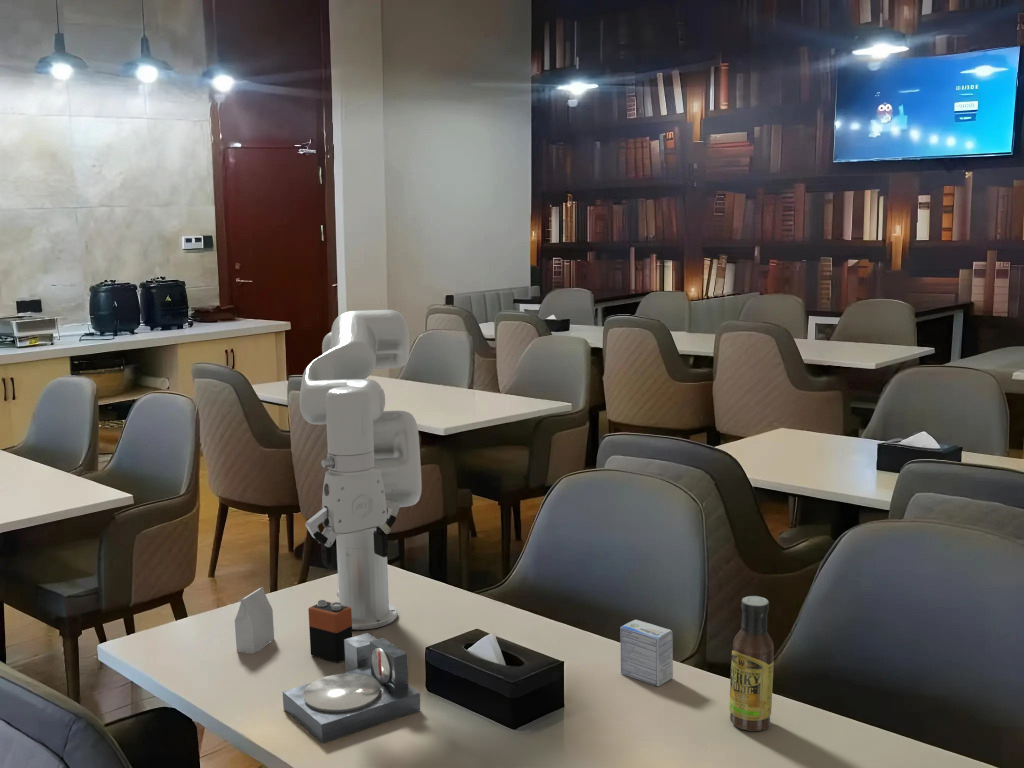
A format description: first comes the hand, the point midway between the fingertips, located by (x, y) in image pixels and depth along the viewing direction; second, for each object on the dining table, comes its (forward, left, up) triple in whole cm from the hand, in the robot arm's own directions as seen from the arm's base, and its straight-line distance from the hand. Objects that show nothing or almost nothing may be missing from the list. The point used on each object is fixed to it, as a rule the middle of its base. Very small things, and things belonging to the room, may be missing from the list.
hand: (355, 561), depth 178 cm
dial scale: (+10, -7, -20) cm, 24 cm away
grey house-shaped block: (-24, -9, -21) cm, 33 cm away
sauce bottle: (+52, +39, -21) cm, 68 cm away
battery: (-11, 0, -21) cm, 23 cm away
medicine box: (+30, +38, -21) cm, 53 cm away
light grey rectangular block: (-1, +1, -21) cm, 21 cm away
